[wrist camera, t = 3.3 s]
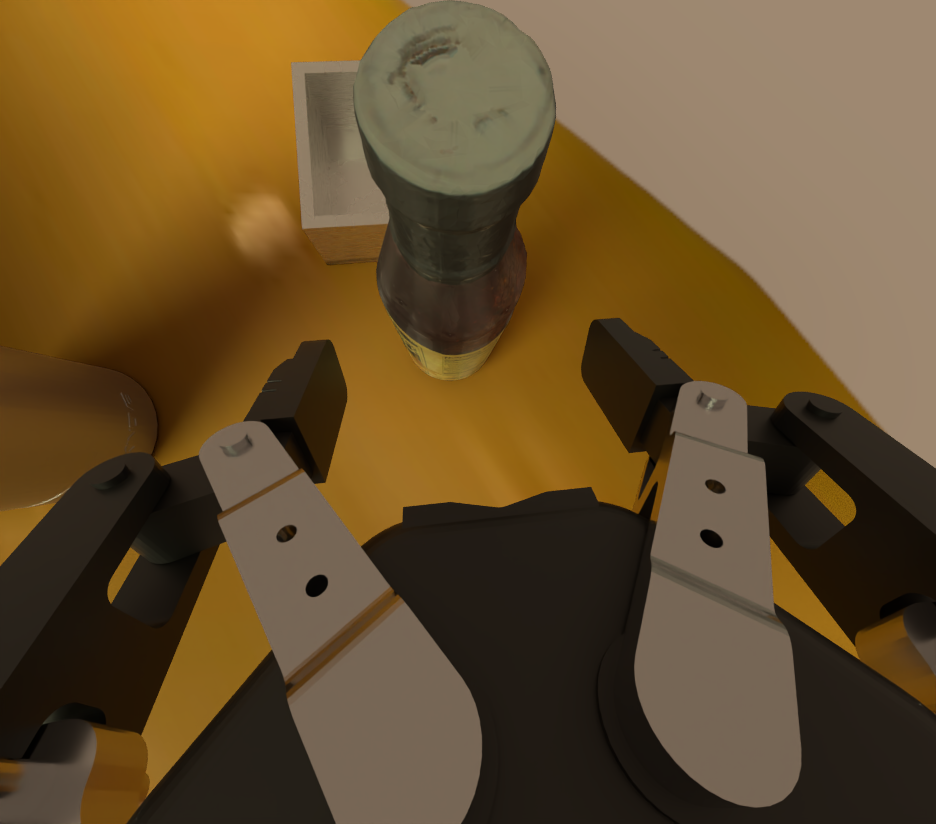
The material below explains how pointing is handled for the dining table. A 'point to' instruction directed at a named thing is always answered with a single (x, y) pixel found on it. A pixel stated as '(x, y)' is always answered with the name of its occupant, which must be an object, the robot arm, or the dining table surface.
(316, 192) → the tray
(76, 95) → the dining table surface
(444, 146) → the sauce bottle
